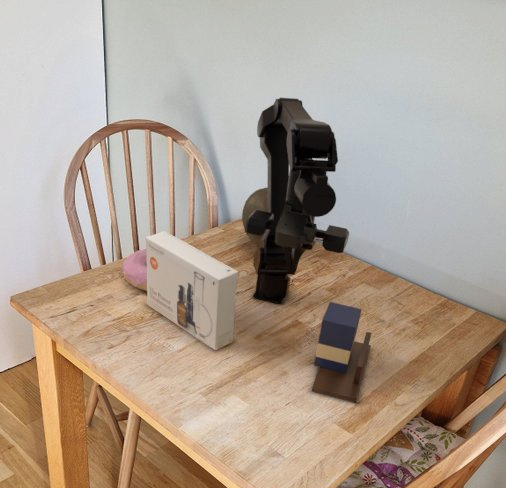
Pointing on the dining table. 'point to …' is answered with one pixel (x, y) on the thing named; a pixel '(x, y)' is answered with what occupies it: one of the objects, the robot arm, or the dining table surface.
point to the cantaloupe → (254, 203)
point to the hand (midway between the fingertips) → (291, 271)
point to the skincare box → (191, 289)
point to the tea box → (337, 337)
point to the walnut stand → (345, 375)
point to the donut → (136, 269)
